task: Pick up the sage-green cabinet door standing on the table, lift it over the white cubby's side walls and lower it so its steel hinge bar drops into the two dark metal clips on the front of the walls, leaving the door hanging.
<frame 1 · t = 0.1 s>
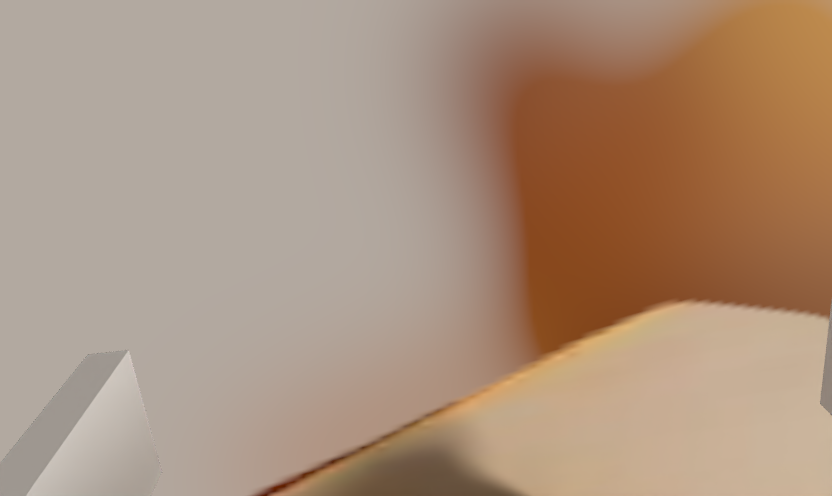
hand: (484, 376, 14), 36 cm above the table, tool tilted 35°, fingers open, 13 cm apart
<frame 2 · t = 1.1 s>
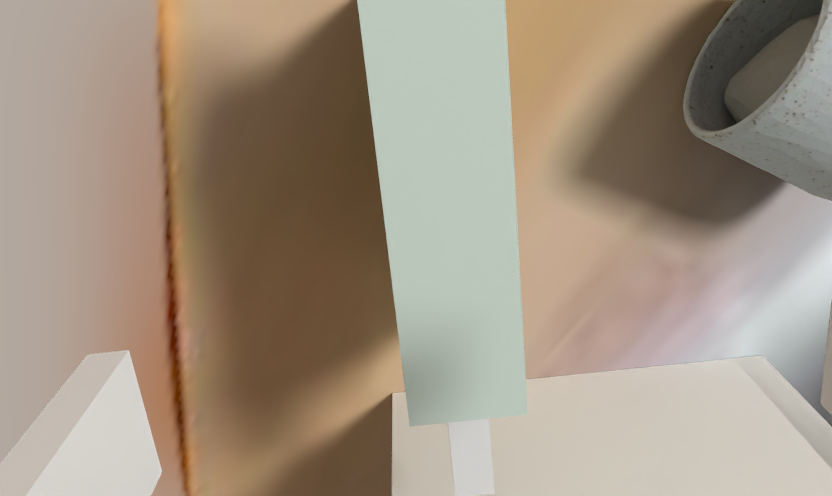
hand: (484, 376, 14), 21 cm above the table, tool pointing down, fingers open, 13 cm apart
door: (432, 141, 33), on the table
ceramic mug: (787, 49, 32), on the table
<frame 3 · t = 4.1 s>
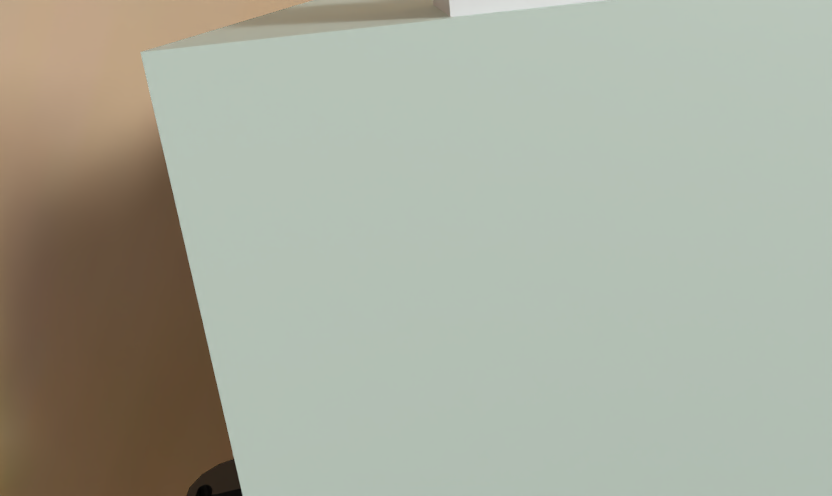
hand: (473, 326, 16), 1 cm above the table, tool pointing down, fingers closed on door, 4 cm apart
door: (468, 302, 17), on the table, touching gripper
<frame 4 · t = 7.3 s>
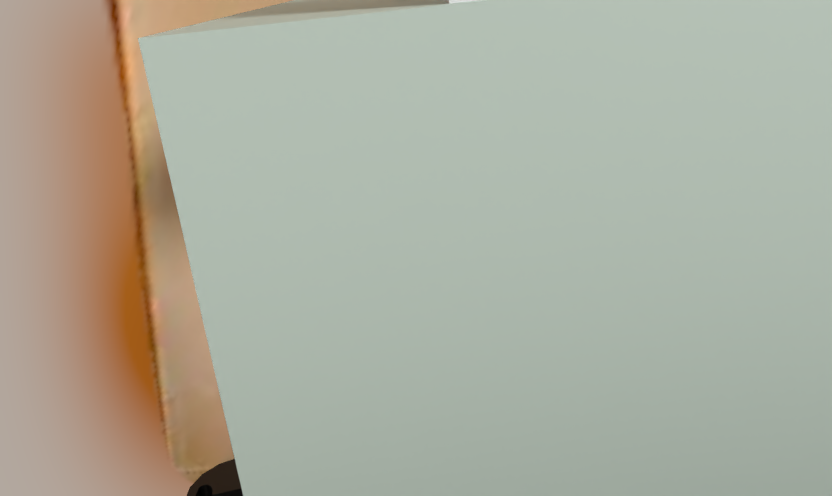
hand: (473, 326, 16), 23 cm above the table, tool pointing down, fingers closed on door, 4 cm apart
door: (467, 300, 17), point 22 cm above the table, touching gripper
when the fingers open (6 cm above the table, at t = 10.6 s): door drops 1 cm, resting on cabinet.
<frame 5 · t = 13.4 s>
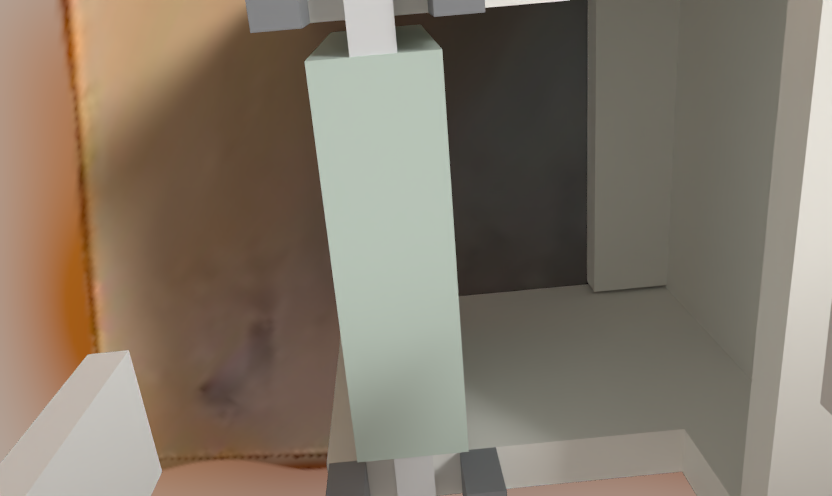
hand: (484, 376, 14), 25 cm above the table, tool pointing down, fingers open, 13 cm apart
door: (390, 180, 35), point 3 cm above the table, touching cabinet
cabinet: (388, 163, 38), on the table
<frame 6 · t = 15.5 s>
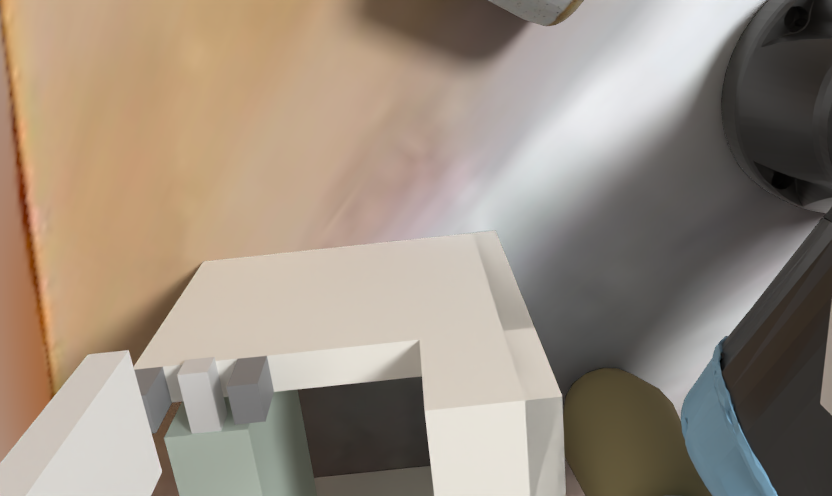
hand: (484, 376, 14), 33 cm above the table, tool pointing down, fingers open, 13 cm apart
door: (271, 414, 48), point 3 cm above the table, touching cabinet
cabinet: (278, 387, 51), on the table
squeeze bottle: (602, 400, 52), on the table
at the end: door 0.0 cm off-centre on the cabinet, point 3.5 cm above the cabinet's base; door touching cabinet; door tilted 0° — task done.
